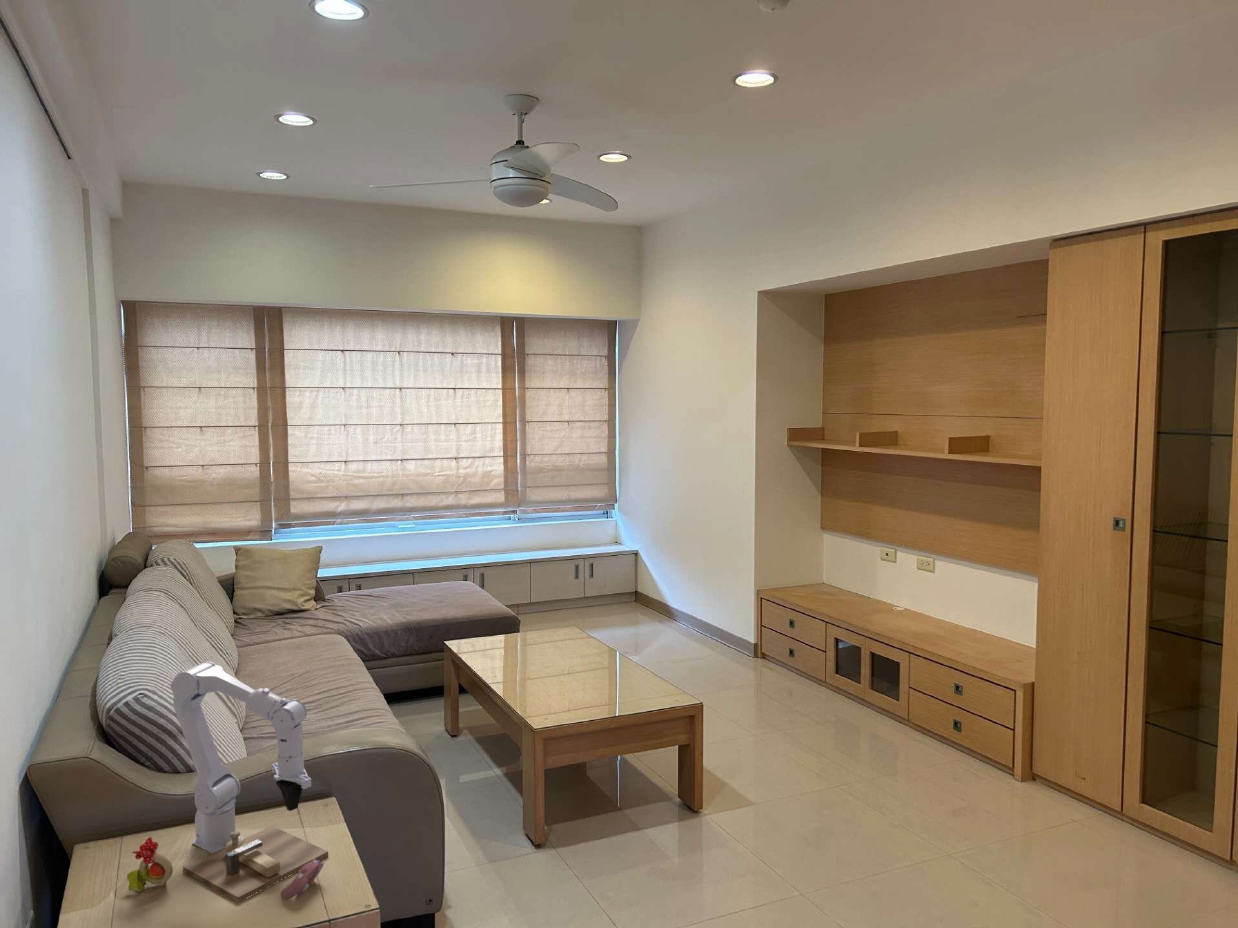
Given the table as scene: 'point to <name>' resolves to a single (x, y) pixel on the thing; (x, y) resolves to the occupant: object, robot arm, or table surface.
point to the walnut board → (248, 880)
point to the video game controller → (302, 880)
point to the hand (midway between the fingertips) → (292, 808)
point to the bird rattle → (156, 872)
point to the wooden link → (254, 857)
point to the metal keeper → (234, 855)
